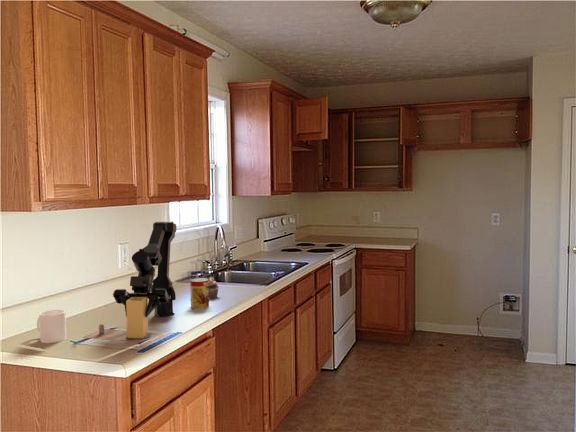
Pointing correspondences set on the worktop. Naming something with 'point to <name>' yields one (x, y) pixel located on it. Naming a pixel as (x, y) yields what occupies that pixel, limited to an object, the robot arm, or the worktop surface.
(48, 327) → the mug
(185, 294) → the worktop surface
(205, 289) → the canned food
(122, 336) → the board
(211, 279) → the cupcake
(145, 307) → the sleeve
